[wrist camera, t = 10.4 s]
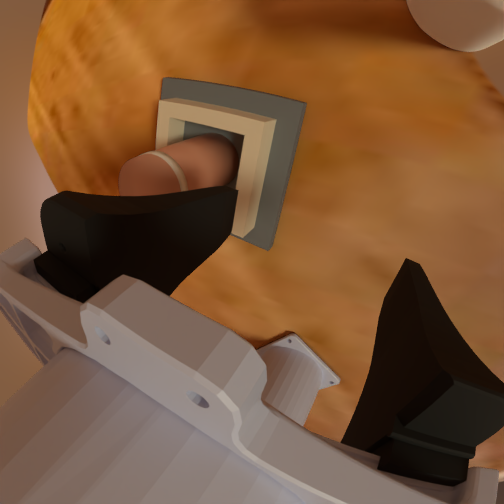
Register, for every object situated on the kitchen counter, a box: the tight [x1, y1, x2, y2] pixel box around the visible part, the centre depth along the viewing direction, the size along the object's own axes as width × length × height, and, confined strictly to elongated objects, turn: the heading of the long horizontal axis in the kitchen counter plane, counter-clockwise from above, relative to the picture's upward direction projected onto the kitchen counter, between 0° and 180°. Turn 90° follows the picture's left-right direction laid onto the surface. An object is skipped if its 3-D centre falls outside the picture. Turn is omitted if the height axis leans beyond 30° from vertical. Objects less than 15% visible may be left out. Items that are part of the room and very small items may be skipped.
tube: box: [118, 133, 239, 196], centre depth 20 cm, size 4×4×8 cm
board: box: [155, 77, 307, 251], centre depth 23 cm, size 12×12×3 cm
